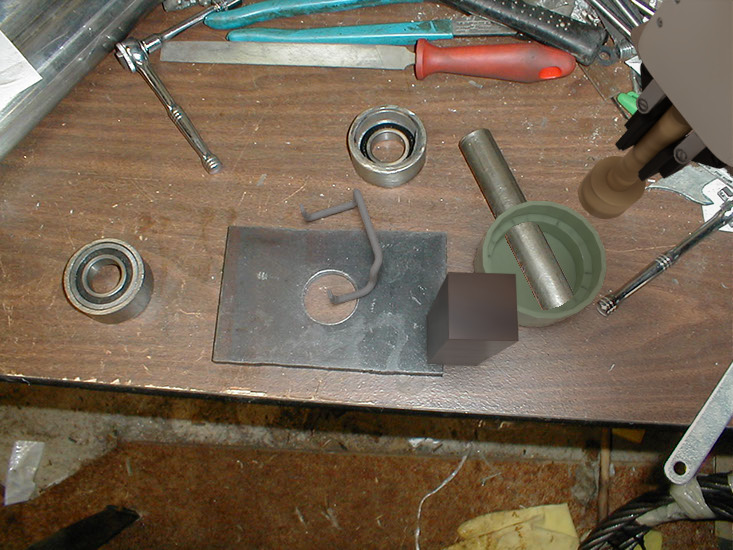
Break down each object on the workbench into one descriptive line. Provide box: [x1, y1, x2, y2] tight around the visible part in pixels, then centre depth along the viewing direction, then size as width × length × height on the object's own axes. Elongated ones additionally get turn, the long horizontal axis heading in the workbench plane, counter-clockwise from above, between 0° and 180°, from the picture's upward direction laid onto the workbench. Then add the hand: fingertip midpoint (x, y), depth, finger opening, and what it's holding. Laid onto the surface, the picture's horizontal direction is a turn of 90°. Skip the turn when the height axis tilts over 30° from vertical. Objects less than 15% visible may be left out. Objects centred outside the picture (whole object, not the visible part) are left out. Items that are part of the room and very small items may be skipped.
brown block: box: [426, 271, 519, 367], centre depth 58 cm, size 6×6×20 cm
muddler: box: [577, 104, 694, 220], centre depth 41 cm, size 4×4×13 cm
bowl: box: [473, 200, 608, 328], centre depth 67 cm, size 14×14×6 cm
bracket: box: [299, 187, 384, 304], centre depth 68 cm, size 13×8×5 cm, turn 18°
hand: (645, 153), depth 40 cm, fingers closed on muddler, 2 cm apart
